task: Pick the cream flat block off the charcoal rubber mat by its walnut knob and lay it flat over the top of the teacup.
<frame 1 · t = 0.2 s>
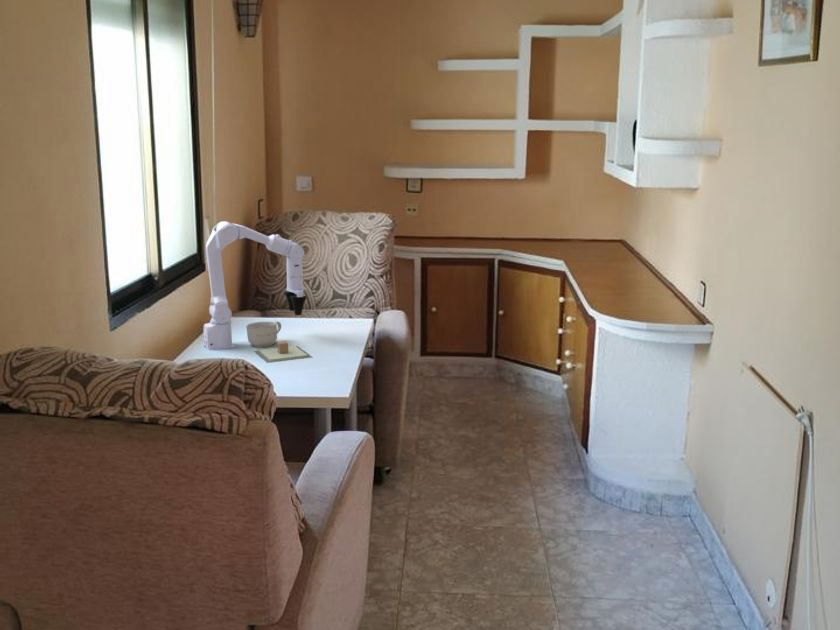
hand: (295, 312, 308), 10 cm above the table, fingers open, 7 cm apart
teacup: (266, 345, 302), on the table
cream flat block: (282, 354, 289), resting on mat
mat: (282, 355, 289), on the table
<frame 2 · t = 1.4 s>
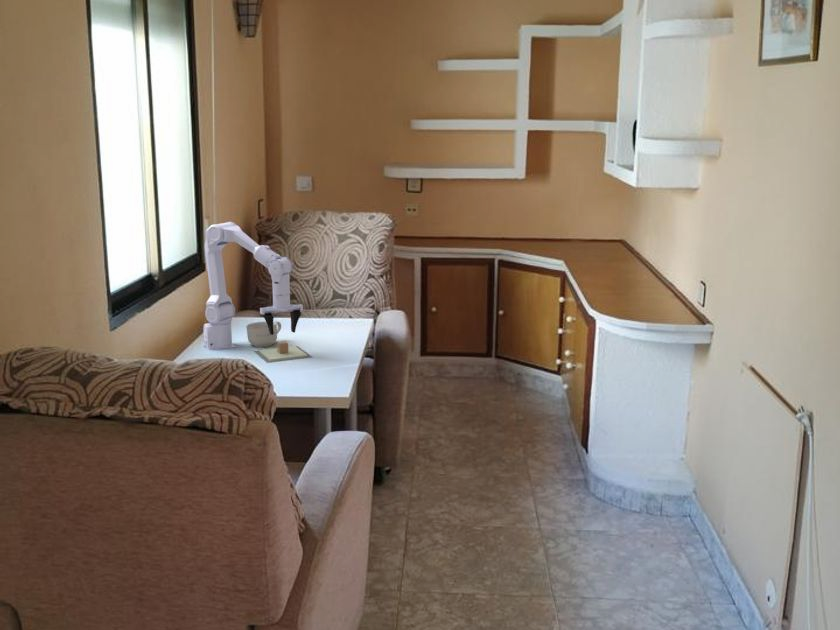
hand: (282, 333, 287), 8 cm above the table, fingers open, 7 cm apart
nothing on the table moved.
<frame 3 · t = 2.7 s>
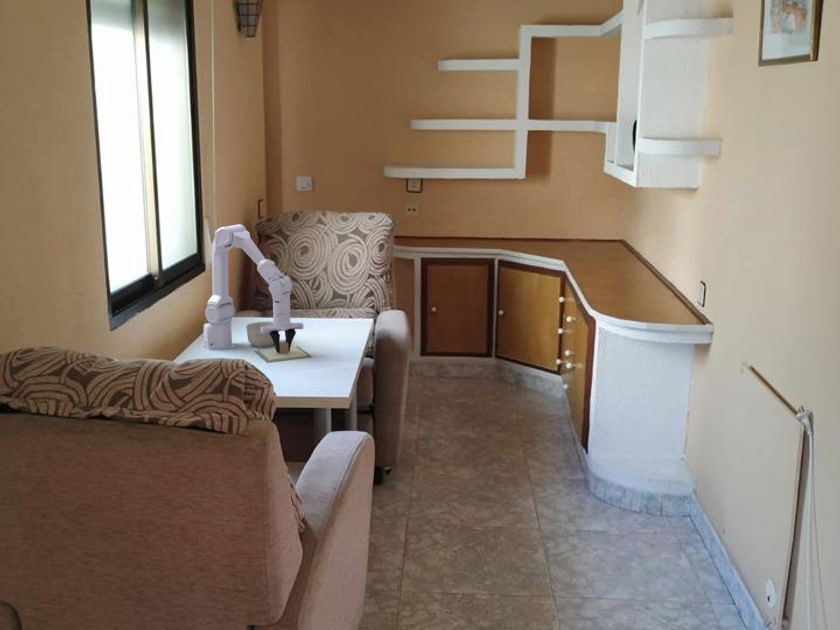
hand: (282, 351, 289), 1 cm above the table, fingers closed on cream flat block, 3 cm apart
cream flat block: (282, 354, 289), resting on mat, touching gripper
everything else where it was.
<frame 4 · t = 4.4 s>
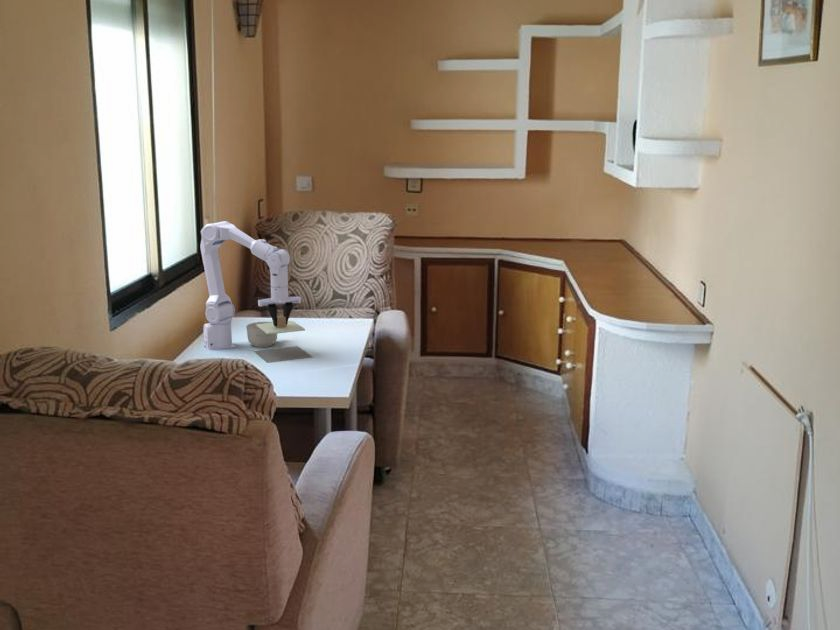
hand: (280, 325, 288), 10 cm above the table, fingers closed on cream flat block, 3 cm apart
cream flat block: (280, 328, 288), point 9 cm above the table, touching gripper
everything else where it was.
when the fingers open (10 cm above the table, at t = 6.3 s): cream flat block stays where it is, resting on teacup.
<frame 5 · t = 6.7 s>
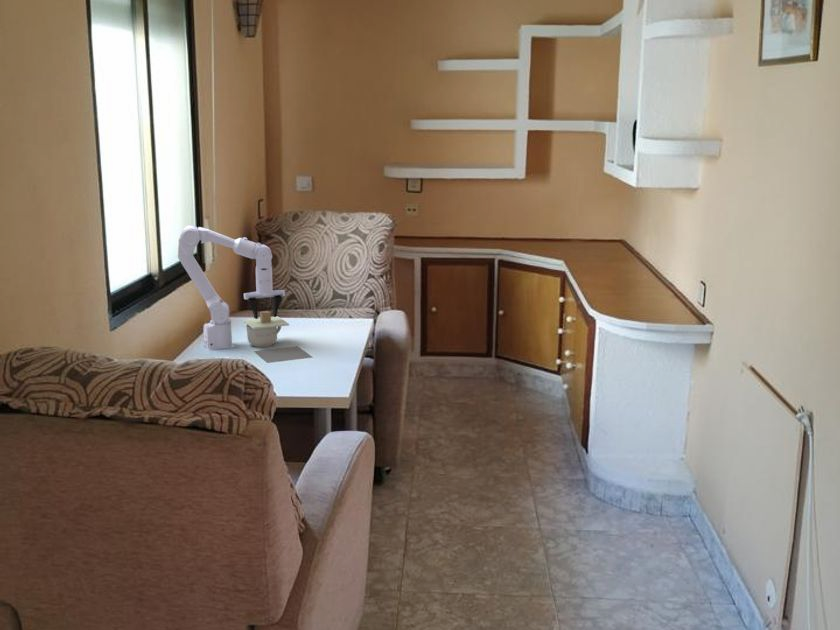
hand: (265, 317, 300), 10 cm above the table, fingers open, 6 cm apart
teacup: (266, 345, 302), on the table, touching cream flat block
cream flat block: (265, 323, 300), point 8 cm above the table, touching teacup
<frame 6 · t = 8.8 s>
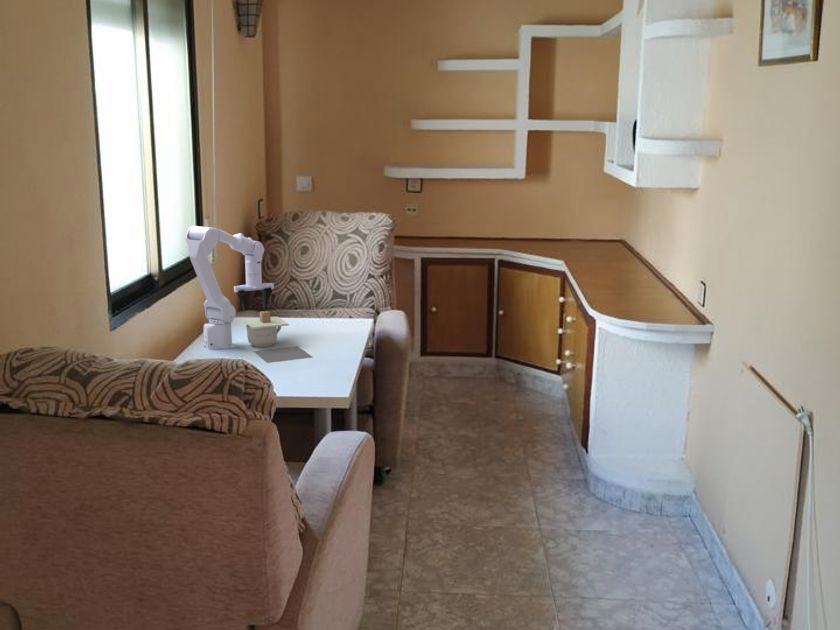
hand: (254, 309, 311), 10 cm above the table, fingers open, 7 cm apart
nothing on the table moved.
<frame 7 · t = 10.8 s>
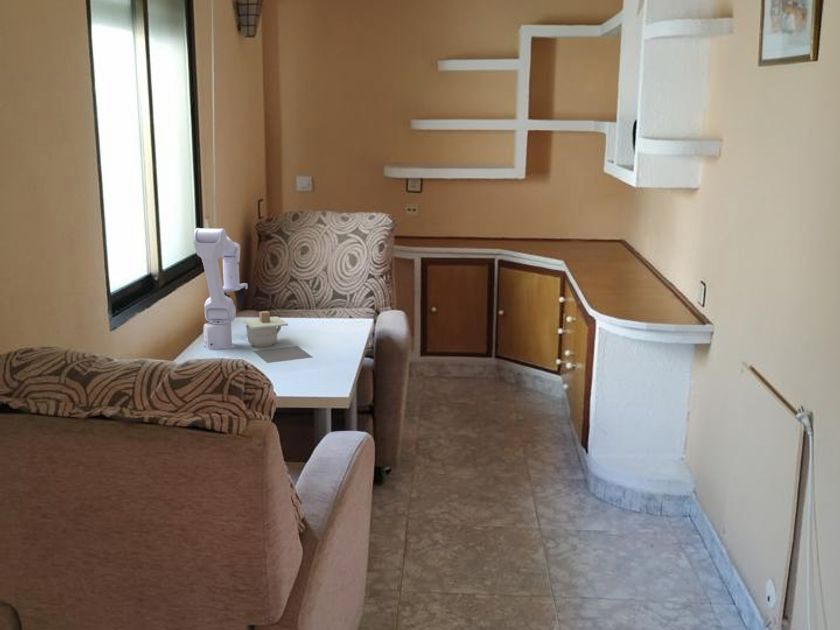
hand: (232, 310, 313), 9 cm above the table, fingers open, 7 cm apart
nothing on the table moved.
at the end: cream flat block 0.4 cm from the teacup (horizontally); cream flat block point 7.9 cm above the table; cream flat block tilted 0° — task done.
